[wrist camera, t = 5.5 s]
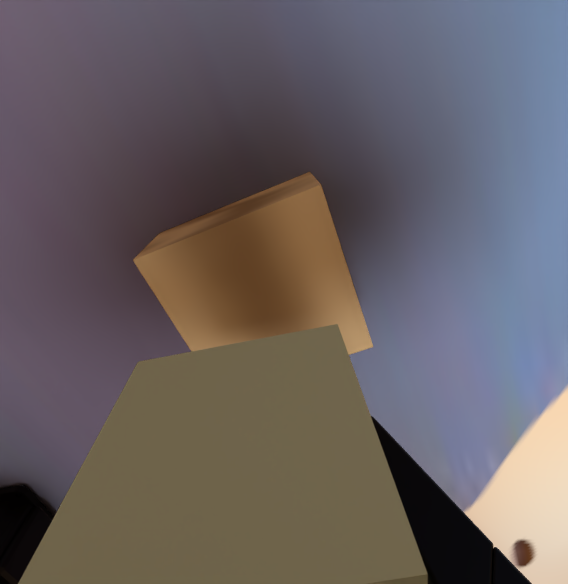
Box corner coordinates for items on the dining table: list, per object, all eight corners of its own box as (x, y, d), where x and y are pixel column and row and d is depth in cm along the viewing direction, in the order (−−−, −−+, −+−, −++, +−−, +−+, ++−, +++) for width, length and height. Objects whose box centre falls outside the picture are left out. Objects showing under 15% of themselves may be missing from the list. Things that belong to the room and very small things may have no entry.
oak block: (228, 349, 20) (220, 396, 17) (161, 231, 17) (132, 259, 13) (353, 305, 19) (373, 346, 16) (309, 170, 16) (321, 184, 12)
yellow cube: (199, 485, 10) (150, 753, 6) (138, 361, 8) (-14, 642, 4) (356, 458, 10) (426, 715, 6) (337, 323, 8) (427, 573, 4)
